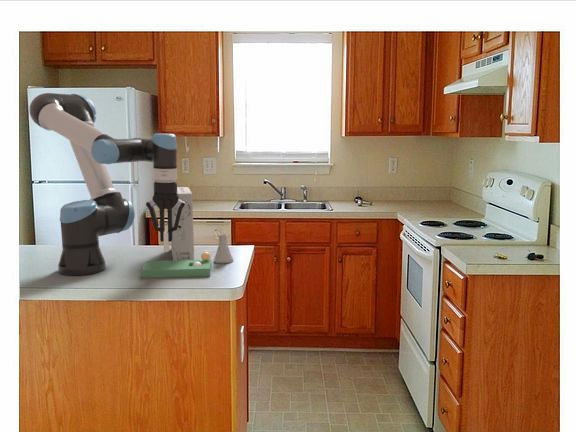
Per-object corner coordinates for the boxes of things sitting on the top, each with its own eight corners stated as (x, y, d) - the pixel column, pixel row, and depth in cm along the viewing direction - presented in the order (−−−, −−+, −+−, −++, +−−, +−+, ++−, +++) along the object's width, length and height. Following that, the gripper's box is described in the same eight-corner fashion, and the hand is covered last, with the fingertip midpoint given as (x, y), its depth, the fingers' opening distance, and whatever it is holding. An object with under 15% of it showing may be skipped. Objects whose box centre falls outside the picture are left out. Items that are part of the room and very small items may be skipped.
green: (141, 277, 172) (141, 270, 171) (147, 268, 183) (147, 261, 183) (209, 275, 174) (209, 268, 173) (211, 266, 186) (211, 259, 185)
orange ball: (201, 262, 182) (200, 253, 181) (201, 259, 185) (201, 250, 184) (210, 261, 182) (210, 252, 182) (210, 259, 185) (210, 250, 185)
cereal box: (194, 260, 194) (192, 193, 190) (173, 262, 192) (170, 193, 188) (190, 248, 214) (188, 186, 210) (171, 249, 213) (169, 187, 208)
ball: (190, 268, 177) (195, 261, 177) (191, 266, 180) (196, 258, 180) (198, 274, 178) (203, 266, 177) (198, 271, 181) (204, 264, 180)
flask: (209, 262, 191) (209, 235, 189) (219, 258, 197) (218, 232, 196) (228, 264, 188) (227, 237, 187) (236, 259, 195) (236, 233, 193)
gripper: (143, 182, 169) (144, 253, 173) (184, 182, 170) (185, 253, 175) (147, 179, 176) (148, 248, 181) (186, 180, 178) (187, 248, 182)
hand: (166, 250), depth 178 cm, fingers closed
